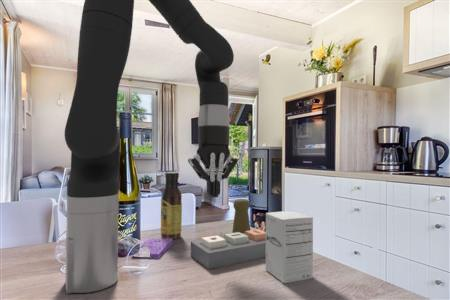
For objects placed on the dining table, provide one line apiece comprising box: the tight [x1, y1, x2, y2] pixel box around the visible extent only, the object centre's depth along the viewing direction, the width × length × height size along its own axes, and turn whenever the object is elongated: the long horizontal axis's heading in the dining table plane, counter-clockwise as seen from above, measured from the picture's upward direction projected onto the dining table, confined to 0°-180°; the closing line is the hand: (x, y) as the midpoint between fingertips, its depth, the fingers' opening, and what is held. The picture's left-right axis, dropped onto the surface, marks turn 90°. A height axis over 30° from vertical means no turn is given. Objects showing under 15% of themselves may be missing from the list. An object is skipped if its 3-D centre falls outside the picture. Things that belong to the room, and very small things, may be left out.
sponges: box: [137, 237, 174, 259], centre depth 77 cm, size 7×13×2 cm, turn 175°
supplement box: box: [265, 210, 314, 284], centre depth 61 cm, size 7×7×13 cm
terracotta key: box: [245, 228, 266, 241], centre depth 76 cm, size 4×4×2 cm
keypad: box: [190, 233, 266, 270], centre depth 73 cm, size 20×10×4 cm, turn 120°
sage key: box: [223, 232, 248, 245], centre depth 73 cm, size 4×4×2 cm
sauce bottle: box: [160, 171, 183, 240], centre depth 89 cm, size 7×6×20 cm
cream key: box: [200, 234, 226, 249], centre depth 70 cm, size 4×4×2 cm
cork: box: [231, 198, 251, 234], centre depth 93 cm, size 6×6×11 cm
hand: (213, 196), depth 70 cm, fingers closed
